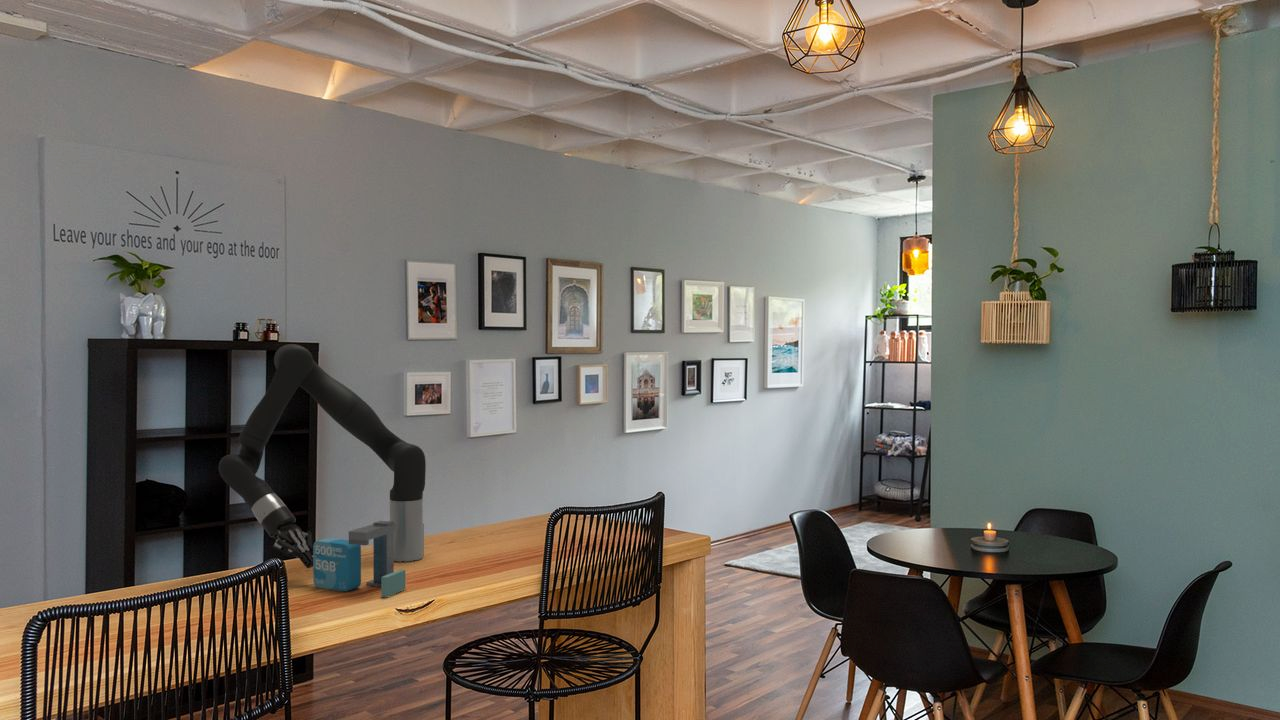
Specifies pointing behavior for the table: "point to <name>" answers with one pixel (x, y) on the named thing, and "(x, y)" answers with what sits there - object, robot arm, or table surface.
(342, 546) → the data package
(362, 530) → the lug bracket
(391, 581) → the end catch
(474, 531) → the table surface
